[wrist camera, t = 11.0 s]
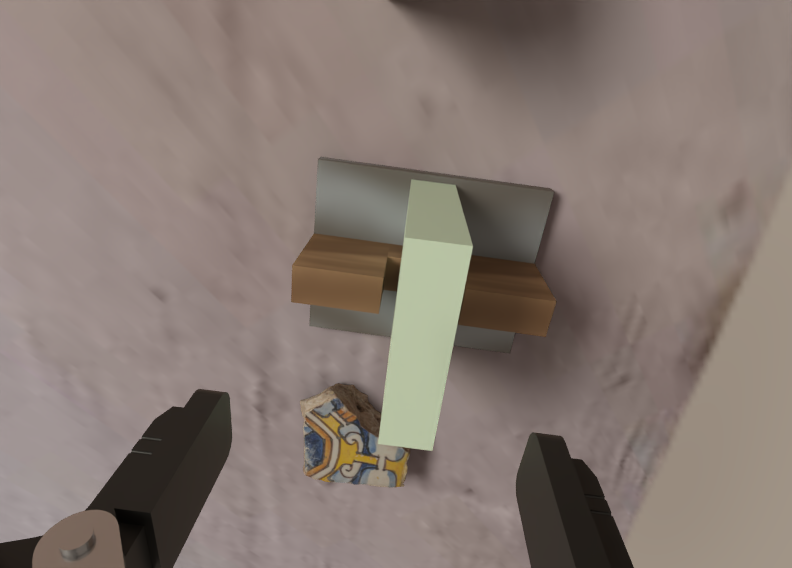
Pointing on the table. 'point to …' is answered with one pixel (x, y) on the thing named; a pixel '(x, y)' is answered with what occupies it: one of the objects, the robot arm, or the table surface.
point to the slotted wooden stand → (383, 242)
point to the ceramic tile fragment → (348, 440)
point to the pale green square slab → (425, 314)
